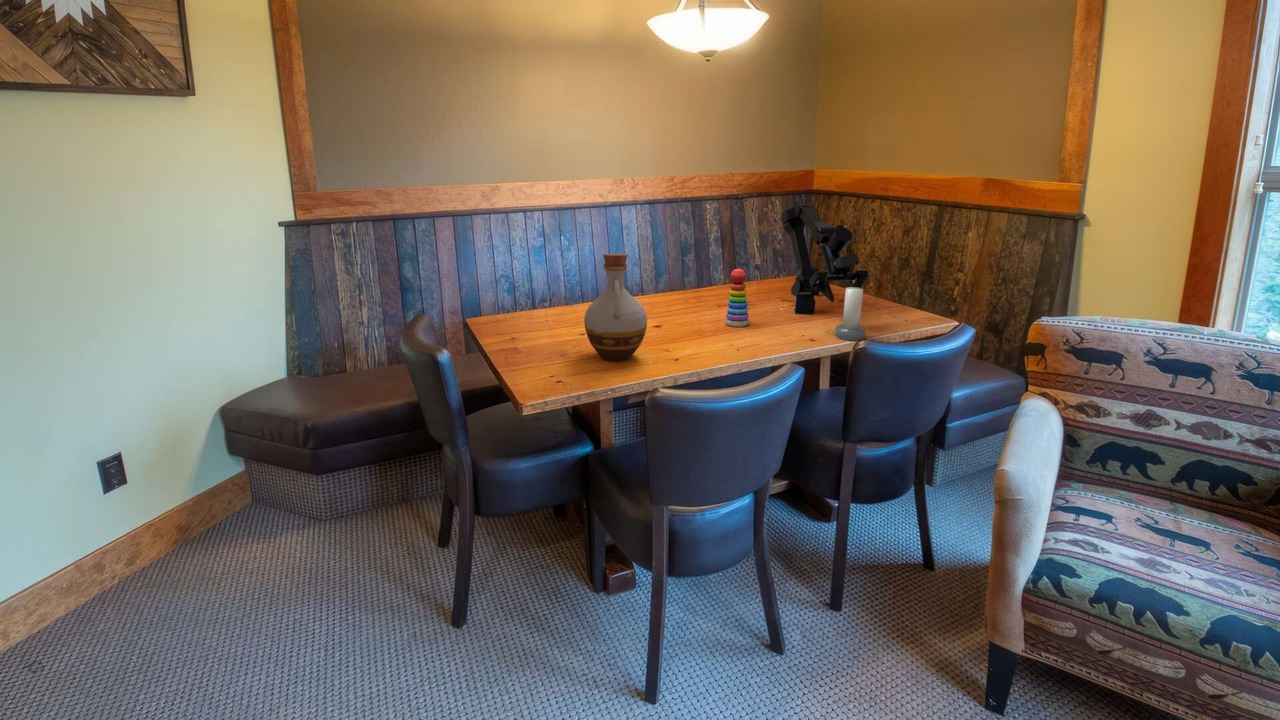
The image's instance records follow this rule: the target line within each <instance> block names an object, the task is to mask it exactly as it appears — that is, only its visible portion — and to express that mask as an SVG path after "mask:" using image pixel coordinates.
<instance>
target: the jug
mask: <svg viewBox="0 0 1280 720" xmlns="http://www.w3.org/2000/svg"><path fill="white" fill-rule="evenodd" d="M602 256H603V260H604V262H605V263H603V268H604V270H605V274H606V281H607V285H606V288H605V290H604V291H603V292H602V293H601V294H600V295H598V297H597V298H595V299H594V301H592V302H591V304H590V305H588V308H587V309H586V310H585V313H584V317H583V318H584V320H583V321H584V322H583V324H584V329H585V333H586V336H587V339H588V341H589V343H590V345H591V347H593V349H594V350H595V352H596V353H597V354H598V355H599V356H600V357H601V359H603V360H604V361H606V362H607V361H608V362H612V363H614V362H624V361H628V360H630V359H631V358H632V356H633V355H634V354H635V353H636V351H637V350H639V348H640V346H641V345H642V343H643V340H644V338H645V335H646V331H647V328H648V315H647V312H646V310H645V308H644V306H643V305H642V304H641V303H640V302H639V301H638V300H637V299H636V298H635V297H634V296H632V295H631V293H630V292H629V291H628V290H627V289H626V288H625V285H624V283H625V273H626V270H627V268H628V263H627V260H628V253H621V252H620V253H619V252H618V253H617V252H614V253H613V252H612V253H611V252H610V253H603V254H602Z"/></svg>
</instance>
